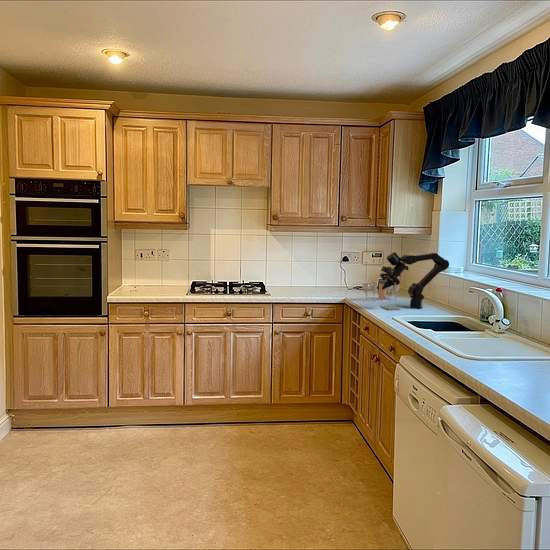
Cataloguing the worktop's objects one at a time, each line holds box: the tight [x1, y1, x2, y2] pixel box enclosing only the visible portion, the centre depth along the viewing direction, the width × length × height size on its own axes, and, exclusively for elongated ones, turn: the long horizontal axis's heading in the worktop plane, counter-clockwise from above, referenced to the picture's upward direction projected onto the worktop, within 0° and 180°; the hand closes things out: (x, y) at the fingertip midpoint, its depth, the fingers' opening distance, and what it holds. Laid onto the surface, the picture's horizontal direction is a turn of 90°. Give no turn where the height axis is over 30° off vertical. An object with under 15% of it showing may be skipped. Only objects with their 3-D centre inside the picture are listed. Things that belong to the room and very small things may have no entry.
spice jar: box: [378, 278, 387, 300], centre depth 331 cm, size 5×5×12 cm
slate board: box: [380, 305, 401, 311], centre depth 334 cm, size 8×12×1 cm, turn 13°
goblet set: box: [362, 281, 401, 302], centre depth 365 cm, size 28×6×13 cm, turn 106°
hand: (380, 288), depth 331 cm, fingers closed on spice jar, 5 cm apart
